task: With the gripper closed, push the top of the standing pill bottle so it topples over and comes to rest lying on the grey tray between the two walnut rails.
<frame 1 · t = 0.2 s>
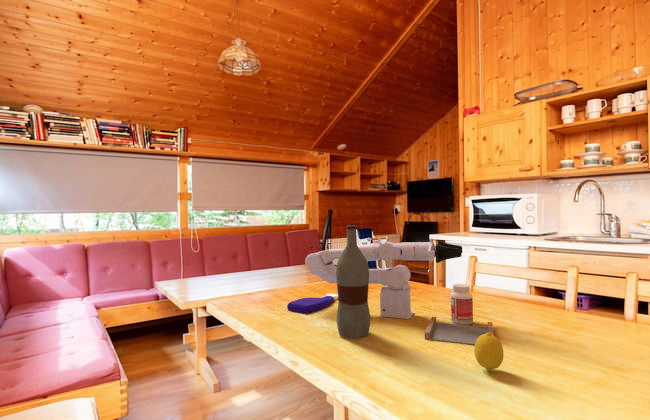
hand: (461, 251, 110), 21 cm above the table, tool horizontal, fingers open, 7 cm apart
pill bottle: (462, 322, 109), on the table
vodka: (353, 334, 100), on the table
grey tray: (459, 333, 99), on the table
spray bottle: (317, 306, 134), on the table
lemon: (489, 372, 76), on the table
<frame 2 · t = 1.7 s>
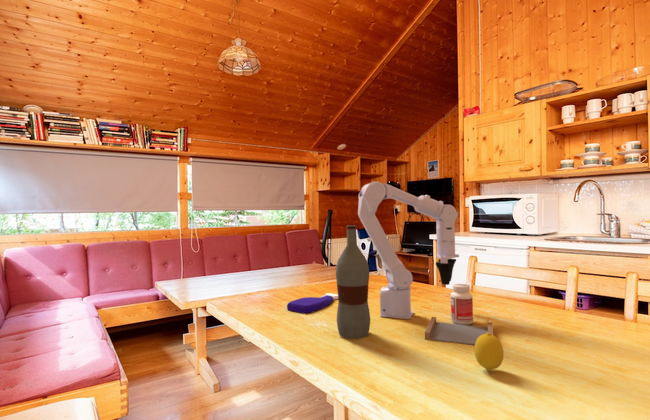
hand: (446, 282, 119), 10 cm above the table, tool pointing down, fingers open, 6 cm apart
nothing on the table moved.
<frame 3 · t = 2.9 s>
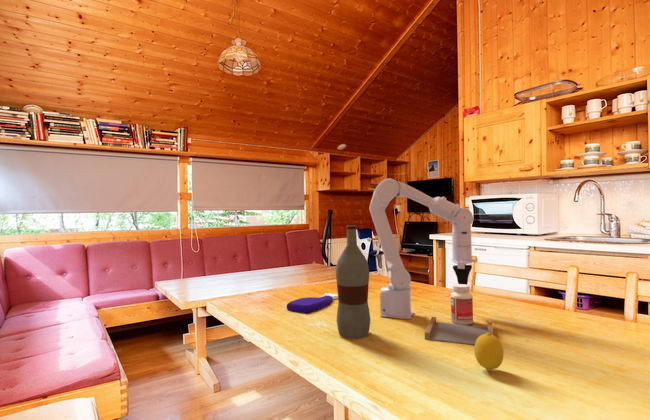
hand: (462, 288, 116), 9 cm above the table, tool pointing down, fingers closed
nothing on the table moved.
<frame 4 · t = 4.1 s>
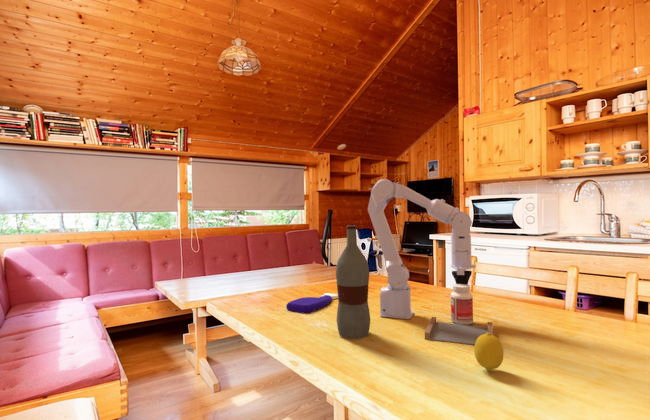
hand: (462, 294, 112), 7 cm above the table, tool pointing down, fingers closed, pressing on pill bottle
pill bottle: (462, 322, 109), on the table, touching gripper
everything else where it was.
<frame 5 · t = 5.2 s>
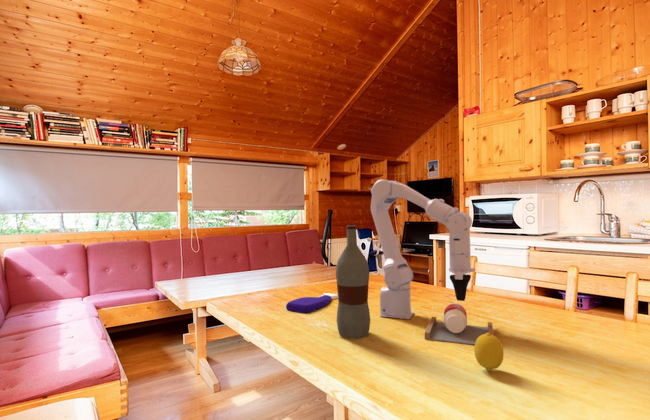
hand: (460, 300, 106), 7 cm above the table, tool pointing down, fingers closed
pill bottle: (455, 312, 107), point 3 cm above the table, touching grey tray
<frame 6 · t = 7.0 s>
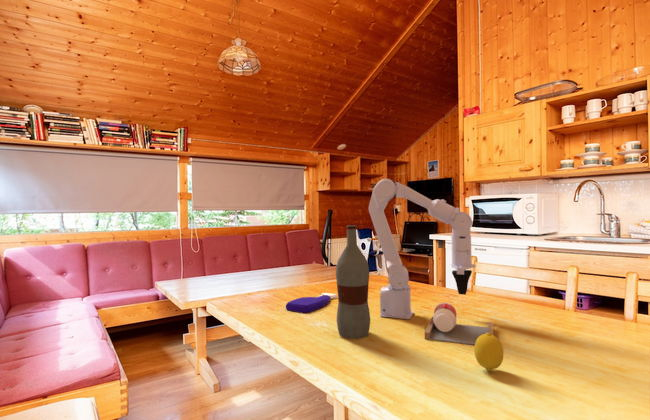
hand: (462, 293, 113), 7 cm above the table, tool pointing down, fingers closed
pill bottle: (445, 312, 108), point 3 cm above the table, touching grey tray
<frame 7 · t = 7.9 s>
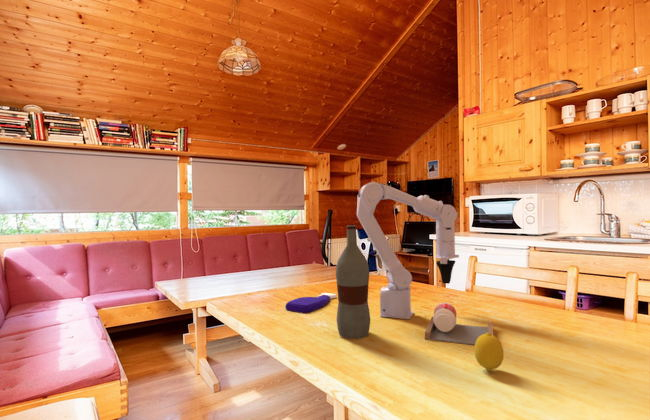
hand: (446, 283, 118), 10 cm above the table, tool pointing down, fingers closed
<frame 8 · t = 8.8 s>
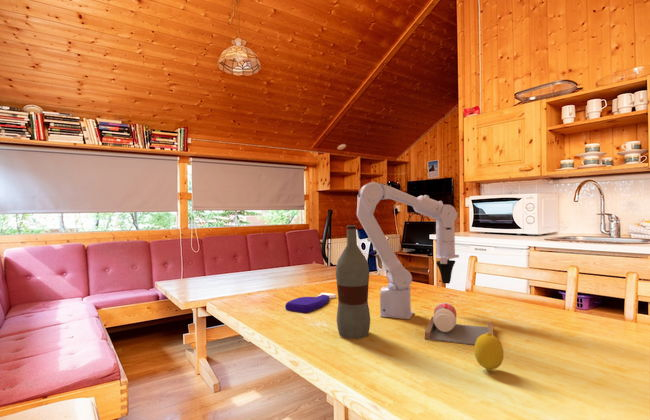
hand: (446, 283, 118), 10 cm above the table, tool pointing down, fingers closed
at the end: pill bottle tilted 90°; pill bottle inside the target area (5.6 cm from its centre), point 3.3 cm above the table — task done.
